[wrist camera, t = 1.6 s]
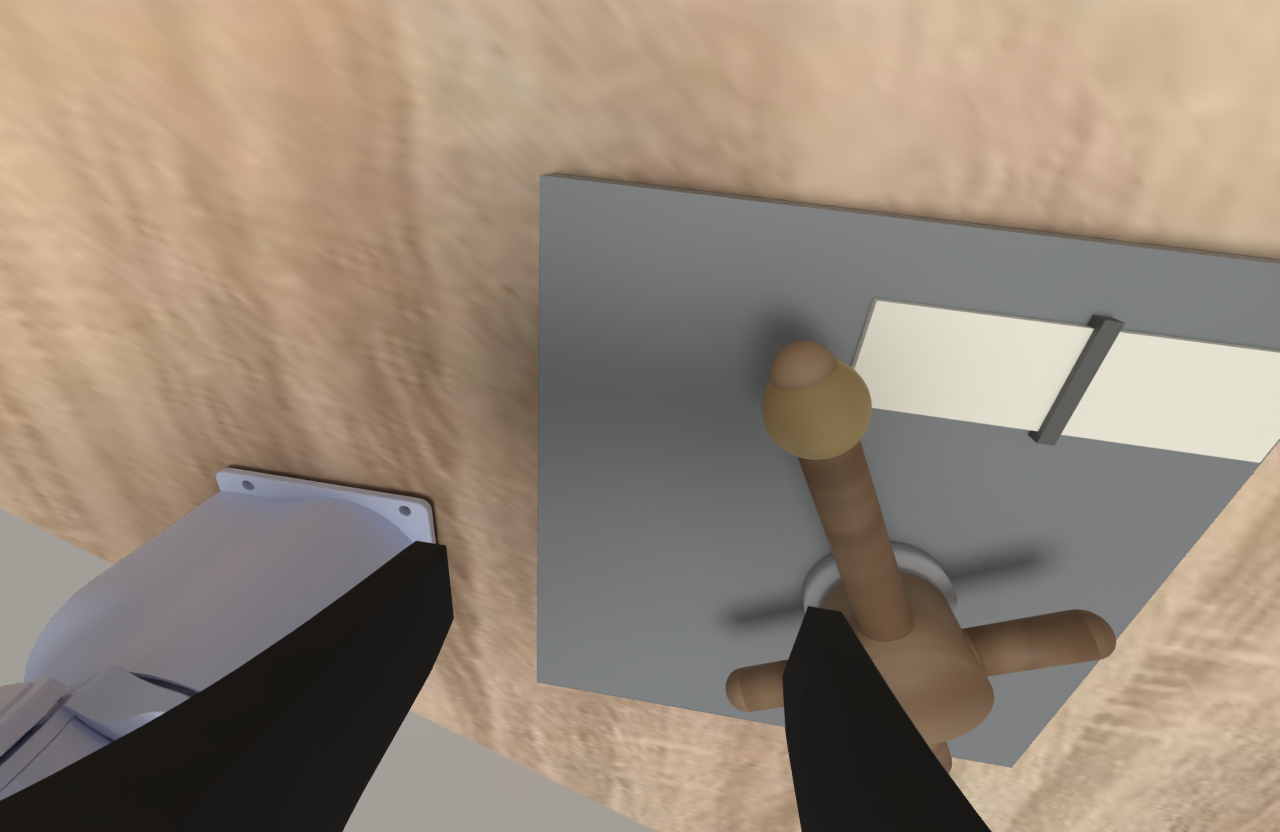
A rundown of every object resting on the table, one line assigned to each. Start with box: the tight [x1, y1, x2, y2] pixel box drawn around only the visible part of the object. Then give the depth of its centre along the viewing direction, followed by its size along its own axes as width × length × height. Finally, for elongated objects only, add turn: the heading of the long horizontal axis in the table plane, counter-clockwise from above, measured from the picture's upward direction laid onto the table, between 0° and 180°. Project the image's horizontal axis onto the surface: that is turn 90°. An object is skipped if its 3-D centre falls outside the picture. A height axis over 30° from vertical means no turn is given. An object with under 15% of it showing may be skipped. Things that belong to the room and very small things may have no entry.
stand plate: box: [537, 173, 1280, 768], centre depth 19 cm, size 22×22×2 cm
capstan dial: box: [725, 341, 1116, 774], centre depth 16 cm, size 18×12×3 cm
